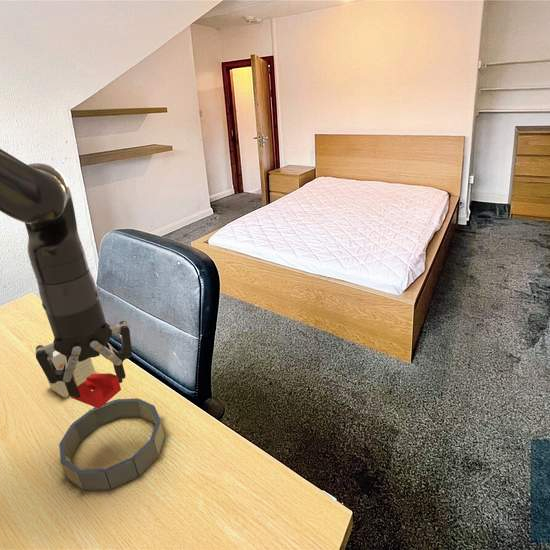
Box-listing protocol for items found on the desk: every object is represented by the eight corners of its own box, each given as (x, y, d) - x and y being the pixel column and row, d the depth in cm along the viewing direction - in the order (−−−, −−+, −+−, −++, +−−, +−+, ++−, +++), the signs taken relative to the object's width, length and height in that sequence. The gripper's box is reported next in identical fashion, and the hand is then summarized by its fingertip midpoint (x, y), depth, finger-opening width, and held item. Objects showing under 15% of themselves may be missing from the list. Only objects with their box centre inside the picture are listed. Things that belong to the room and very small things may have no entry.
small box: (83, 369, 95) (71, 331, 91) (97, 377, 92) (85, 338, 88) (50, 389, 90) (35, 350, 85) (64, 399, 87) (49, 358, 82)
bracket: (121, 389, 70) (117, 375, 68) (99, 408, 66) (94, 394, 64) (93, 380, 72) (89, 366, 71) (71, 397, 68) (66, 383, 67)
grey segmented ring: (70, 508, 64) (63, 491, 62) (63, 437, 77) (57, 421, 75) (174, 460, 71) (170, 443, 69) (151, 402, 84) (147, 387, 82)
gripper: (117, 279, 68) (137, 361, 75) (18, 304, 62) (51, 390, 69) (125, 297, 62) (146, 384, 69) (17, 326, 56) (52, 418, 63)
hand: (98, 387), depth 69 cm, fingers closed on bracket, 6 cm apart
